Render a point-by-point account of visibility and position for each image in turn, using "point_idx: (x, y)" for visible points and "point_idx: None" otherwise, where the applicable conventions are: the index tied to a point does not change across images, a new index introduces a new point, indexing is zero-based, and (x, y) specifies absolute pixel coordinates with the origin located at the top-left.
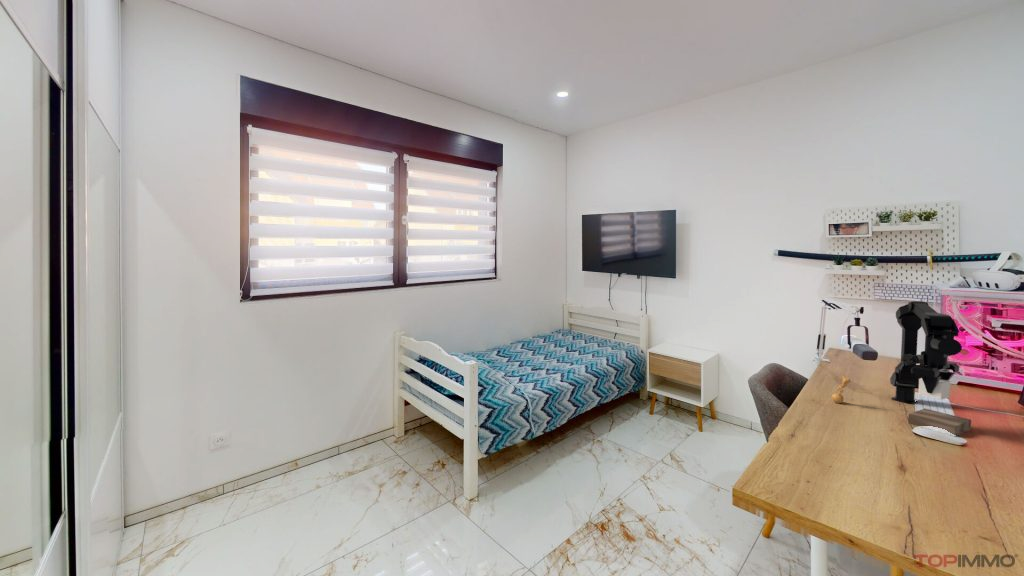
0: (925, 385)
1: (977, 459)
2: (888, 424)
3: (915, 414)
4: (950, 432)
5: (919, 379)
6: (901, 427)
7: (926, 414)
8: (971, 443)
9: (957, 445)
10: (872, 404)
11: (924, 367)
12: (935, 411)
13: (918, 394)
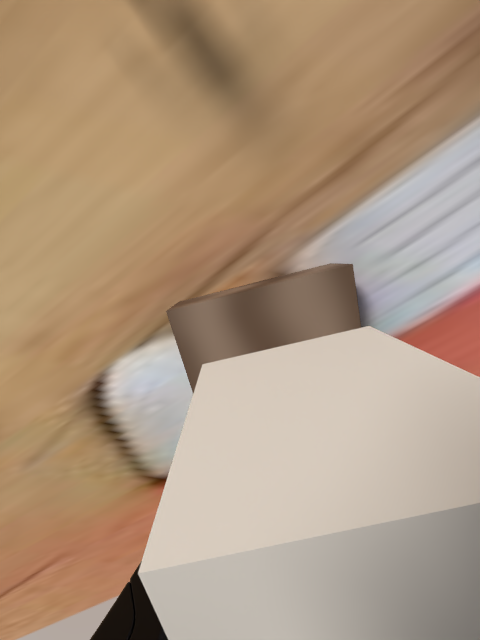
0: None
1: (99, 543)
2: (76, 292)
3: (195, 324)
4: None
5: (153, 549)
6: (103, 330)
7: (251, 337)
8: None
9: (145, 478)
10: (277, 13)
11: None
12: (350, 314)
13: (203, 365)
